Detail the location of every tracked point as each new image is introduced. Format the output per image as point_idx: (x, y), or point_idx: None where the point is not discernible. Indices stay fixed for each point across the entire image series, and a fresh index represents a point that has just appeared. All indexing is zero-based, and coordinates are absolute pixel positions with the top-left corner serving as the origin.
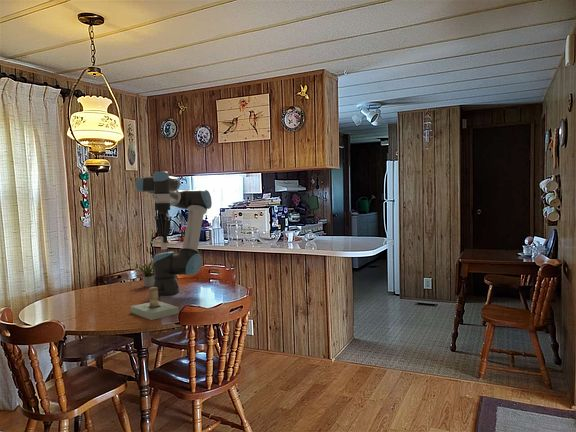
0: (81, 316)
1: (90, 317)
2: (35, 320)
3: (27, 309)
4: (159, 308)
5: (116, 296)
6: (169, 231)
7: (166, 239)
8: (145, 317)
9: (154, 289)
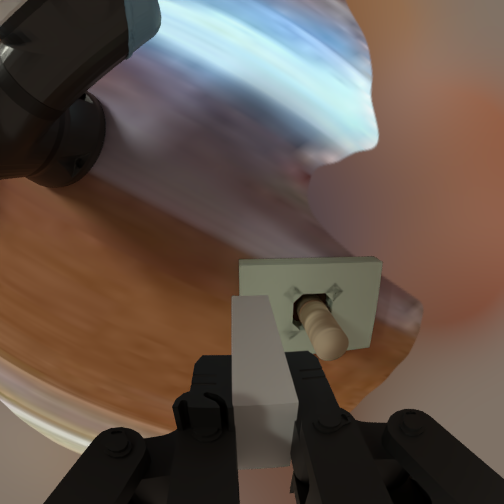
0: None
1: None
2: None
3: (49, 438)
4: (346, 310)
5: (12, 280)
6: (465, 454)
7: (324, 388)
8: None
9: (346, 347)
